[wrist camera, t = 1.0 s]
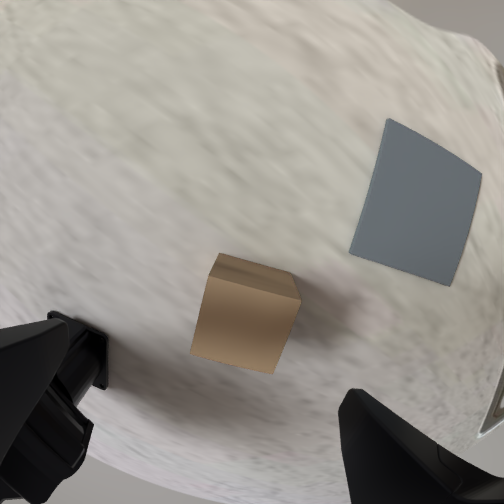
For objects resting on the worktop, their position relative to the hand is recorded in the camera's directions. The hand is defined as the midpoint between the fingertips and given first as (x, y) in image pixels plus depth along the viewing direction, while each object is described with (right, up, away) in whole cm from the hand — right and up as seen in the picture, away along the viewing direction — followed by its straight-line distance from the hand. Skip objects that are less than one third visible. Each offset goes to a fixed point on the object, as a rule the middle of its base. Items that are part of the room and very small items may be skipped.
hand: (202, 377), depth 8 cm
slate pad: (+14, +7, +11) cm, 19 cm away
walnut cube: (+1, +1, +12) cm, 12 cm away
